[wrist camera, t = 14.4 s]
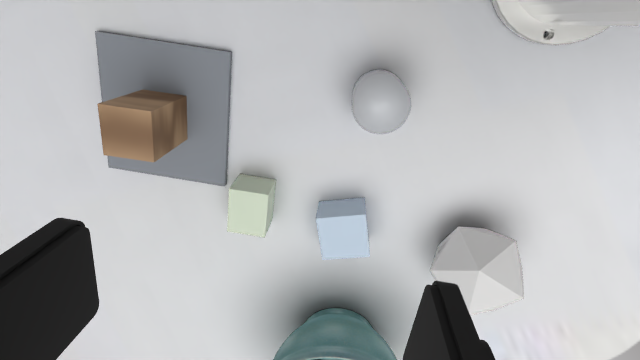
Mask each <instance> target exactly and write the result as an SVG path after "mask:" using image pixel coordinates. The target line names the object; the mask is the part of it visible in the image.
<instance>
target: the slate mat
mask: <svg viewBox="0 0 640 360" xmlns="http://www.w3.org/2000/svg"><path fill="white" fill-rule="evenodd" d="M95 35H96V45H97V55H98V65H99V75H100V85H101V95H102V102H105V101H108V100H111V99H114V98H117V97H120V96H124V95H127V94H130V93H133V92H136V91H139V90H149V91H156V92H163V93H170V94H177V95H184V96H187V137H188V139H187V140H185V141H184V142H183V143H181V144H180V145H178V146H177V147H175V148H174V149H173V150H171V151H170V152H168V153H167V154H165V155H164V156H163V157H161V158H160V159H158V160H157V161H156V162H148V161H141V160H134V159H128V158H121V157H114V156H108V165H109V167H110V168H116V169H122V170H128V171H134V172H140V173H146V174H152V175H158V176H165V177H171V178H177V179H183V180H189V181H195V182H201V183H207V184H213V185H220V186H225V185H226V184H227V160H228V135H229V110H230V85H231V60H232V52H230V51H223V50H217V49H210V48H204V47H198V46H191V45H185V44H178V43H172V42H165V41H159V40H152V39H146V38H140V37H133V36H127V35H120V34H114V33H107V32H101V31H95Z"/></svg>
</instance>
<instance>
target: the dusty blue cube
mask: <svg viewBox="0 0 640 360" xmlns="http://www.w3.org/2000/svg"><path fill="white" fill-rule="evenodd" d="M316 223H317V229H318V235H319V241H320V247H321V254H322V260H328V259H343V258H358V257H370V250H369V236H368V226H367V217H366V207H365V197H364V198H352V199H341V200H329V201H319V205H318V210H317V215H316Z"/></svg>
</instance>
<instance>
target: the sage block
mask: <svg viewBox="0 0 640 360" xmlns="http://www.w3.org/2000/svg"><path fill="white" fill-rule="evenodd" d="M275 186H276V180H275V179H269V178H263V177H256V176H250V175H244V174H240V175H239V176H238V177H237V179H236V180H235V181H234V183H233V184H232V185H231V187H230V188H229V200H228V224H227V232H234V233H240V234H246V235H252V236H258V237H264V238H265V236H266V233H267V231H268V229H269V226H270V224H271V221H272V217H273V207H274V197H275Z"/></svg>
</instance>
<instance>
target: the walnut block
mask: <svg viewBox="0 0 640 360" xmlns="http://www.w3.org/2000/svg"><path fill="white" fill-rule="evenodd" d="M98 111H99V120H100V128H101V136H102V145H103V153H104V155H107V156H114V157H121V158H128V159H134V160H141V161H148V162H156V161H157V160H158V159H160V158H161V157H163V156H164V155H165V154H167V153H168V152H170V151H171V150H173V149H174V148H175V147H177V146H178V145H180V144H181V143H183V142H184V141H185V140H187V139H188V137H187V96H184V95H177V94H170V93H163V92H156V91H149V90H139V91H136V92H133V93H130V94H127V95H124V96H120V97H117V98H114V99H111V100H108V101H105V102H102V103H98Z"/></svg>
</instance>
